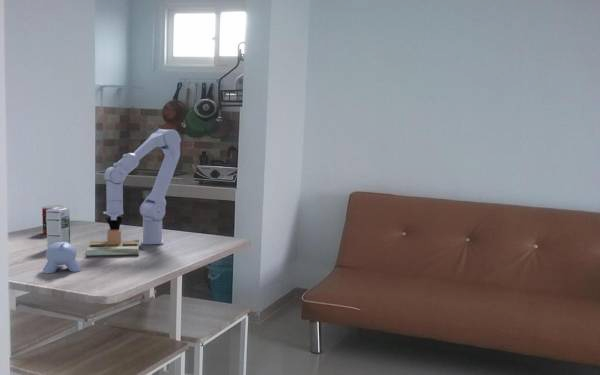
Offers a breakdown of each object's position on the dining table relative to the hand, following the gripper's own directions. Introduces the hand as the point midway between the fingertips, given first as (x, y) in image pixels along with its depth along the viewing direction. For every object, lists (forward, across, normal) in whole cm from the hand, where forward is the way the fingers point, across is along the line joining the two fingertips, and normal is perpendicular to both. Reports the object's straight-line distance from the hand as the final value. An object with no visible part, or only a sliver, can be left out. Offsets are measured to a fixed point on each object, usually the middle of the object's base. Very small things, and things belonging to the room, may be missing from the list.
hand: (114, 236), depth 222 cm
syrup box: (+4, -1, -20) cm, 20 cm away
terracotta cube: (+1, +5, 0) cm, 5 cm away
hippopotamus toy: (+4, +31, -14) cm, 35 cm away
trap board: (+4, +8, 0) cm, 9 cm away
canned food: (+4, -32, -26) cm, 41 cm away
